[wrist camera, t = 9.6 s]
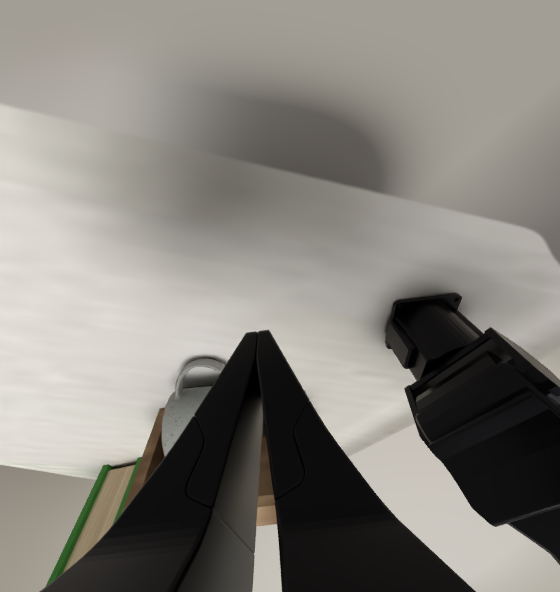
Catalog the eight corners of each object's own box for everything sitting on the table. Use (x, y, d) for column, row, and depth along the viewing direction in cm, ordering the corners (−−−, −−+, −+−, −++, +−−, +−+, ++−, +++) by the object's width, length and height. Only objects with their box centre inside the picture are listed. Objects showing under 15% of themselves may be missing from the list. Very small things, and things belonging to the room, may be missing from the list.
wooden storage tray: (295, 391, 31) (309, 500, 22) (298, 416, 34) (312, 519, 25) (160, 408, 31) (117, 524, 22) (176, 431, 35) (146, 539, 25)
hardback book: (103, 465, 39) (-57, 801, 19) (143, 456, 38) (18, 797, 19) (163, 497, 49) (96, 742, 29) (195, 491, 48) (150, 738, 28)
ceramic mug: (253, 404, 32) (251, 470, 26) (194, 412, 32) (177, 479, 26) (236, 349, 26) (227, 417, 20) (163, 359, 26) (131, 430, 20)
